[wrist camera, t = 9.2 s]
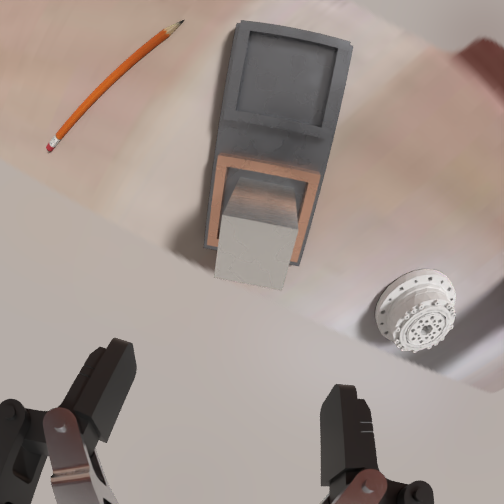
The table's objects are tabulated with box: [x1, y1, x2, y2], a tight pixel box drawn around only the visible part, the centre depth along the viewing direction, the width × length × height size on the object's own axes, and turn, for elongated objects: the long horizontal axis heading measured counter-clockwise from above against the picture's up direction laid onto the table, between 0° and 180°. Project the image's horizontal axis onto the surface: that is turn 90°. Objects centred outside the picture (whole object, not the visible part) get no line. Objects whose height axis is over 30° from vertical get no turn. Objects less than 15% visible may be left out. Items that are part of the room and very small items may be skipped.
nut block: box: [214, 177, 299, 291], centre depth 22 cm, size 4×4×8 cm
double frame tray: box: [204, 20, 353, 266], centre depth 23 cm, size 9×20×2 cm, turn 170°
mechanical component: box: [375, 269, 456, 353], centre depth 29 cm, size 10×4×10 cm
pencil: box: [46, 20, 184, 151], centre depth 22 cm, size 1×19×1 cm, turn 123°
